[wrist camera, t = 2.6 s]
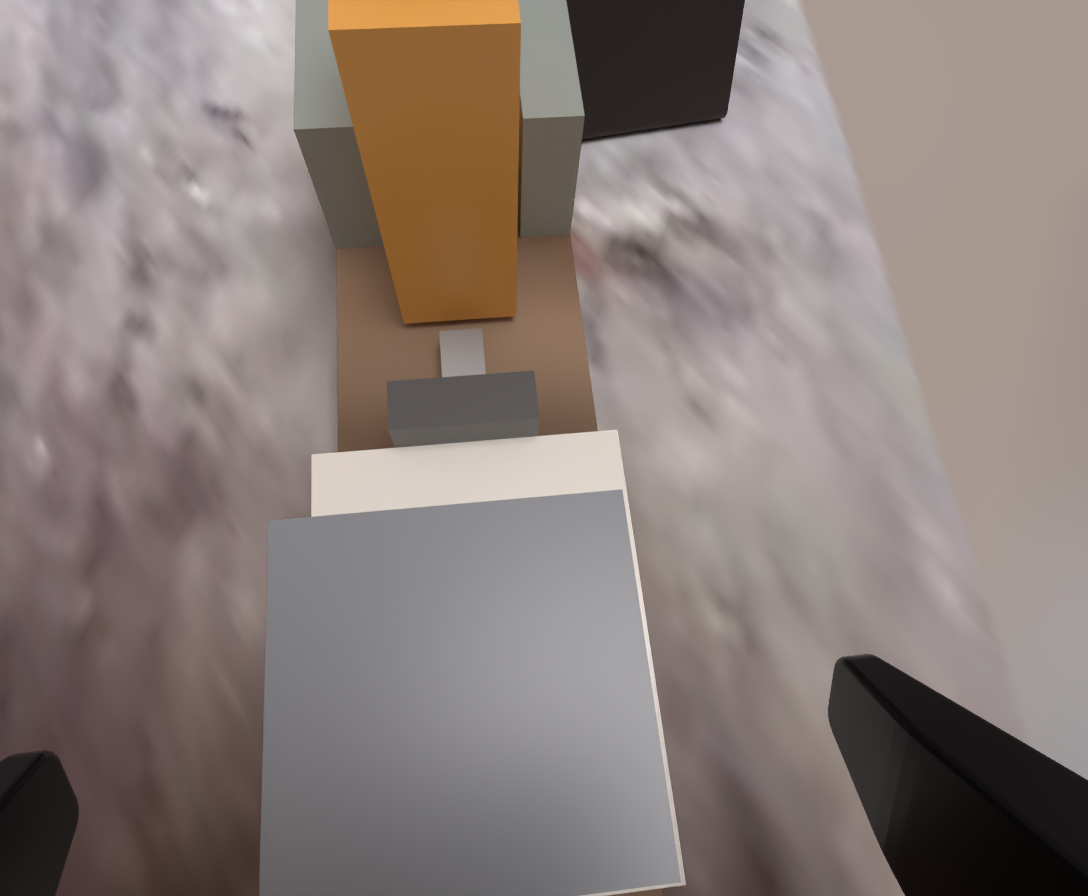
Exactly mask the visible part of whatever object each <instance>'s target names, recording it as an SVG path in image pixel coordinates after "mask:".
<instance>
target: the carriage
mask: <svg viewBox="0 0 1088 896" xmlns="http://www.w3.org/2000/svg"><path fill="white" fill-rule="evenodd" d="M387 410H388V431H389V434H390V436H391V439H392V441H393V444H394V446H395V448H386V449H374V450H361V451H349V452H337V453H325V454H312V501H311V517H303V518H292V519H280V520H269V532H268V570H267V608H266V647H265V685H264V724H263V762H262V801H261V839H260V878H259V896H607V895H614V894H622V893H629V892H637V891H645V890H652V889H660V888H667V887H675V886H682V885H686V880H685V874H684V867H683V860H682V854H681V847H680V840H679V834H678V827H677V821H676V814H675V807H674V801H673V794H672V788H671V781H670V774H669V768H668V761H667V754H666V748H665V741H664V735H663V728H662V721H661V715H660V708H659V702H658V695H657V688H656V682H655V675H654V669H653V662H652V655H651V649H650V642H649V635H648V629H647V622H646V616H645V609H644V602H643V596H642V589H641V583H640V576H639V569H638V563H637V556H636V549H635V543H634V536H633V530H632V523H631V516H630V510H629V503H628V497H627V490H626V483H625V477H624V470H623V463H622V457H621V450H620V444H619V437H618V430H607V431H595V432H582V433H570V434H558V435H545V436H538V429H539V419H540V417H539V409H538V400H537V391H536V382H535V373H534V370H533V371H520V372H506V373H493V374H479V375H466V376H453V377H439V378H426V379H412V380H399V381H387Z"/></svg>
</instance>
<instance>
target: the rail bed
mask: <svg viewBox="0 0 1088 896" xmlns="http://www.w3.org/2000/svg"><path fill="white" fill-rule="evenodd" d="M336 252H337V374H338V452H349V451H361V450H374V449H386V448H395V446H394V444H393V441H392V439H391V436H390V434H389V431H388V410H387V381H399V380H412V379H426V378H439V377H453V376H466V375H479V374H493V373H506V372H520V371H533V370H534V373H535V382H536V391H537V400H538V409H539V417H540V419H539V429H538V436H545V435H558V434H570V433H582V432H595V431H598V430H597V423H596V416H595V409H594V402H593V394H592V387H591V380H590V373H589V366H588V359H587V352H586V345H585V338H584V331H583V323H582V316H581V309H580V302H579V295H578V288H577V281H576V274H575V267H574V260H573V253H572V245H571V238H570V235H554V236H537V237H521V238H520V230H519V221H518V222H517V279H516V316H510V317H496V318H481V319H466V320H452V321H437V322H423V323H408V324H404V322H403V318H402V314H401V310H400V306H399V302H398V298H397V294H396V291H395V287H394V283H393V279H392V275H391V271H390V267H389V264H388V260H387V256H386V252H385V248H384V246H371V247H354V248H337V249H336ZM607 896H663V891H662V888H660V889H652V890H645V891H637V892H629V893H622V894H614V895H607Z"/></svg>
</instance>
